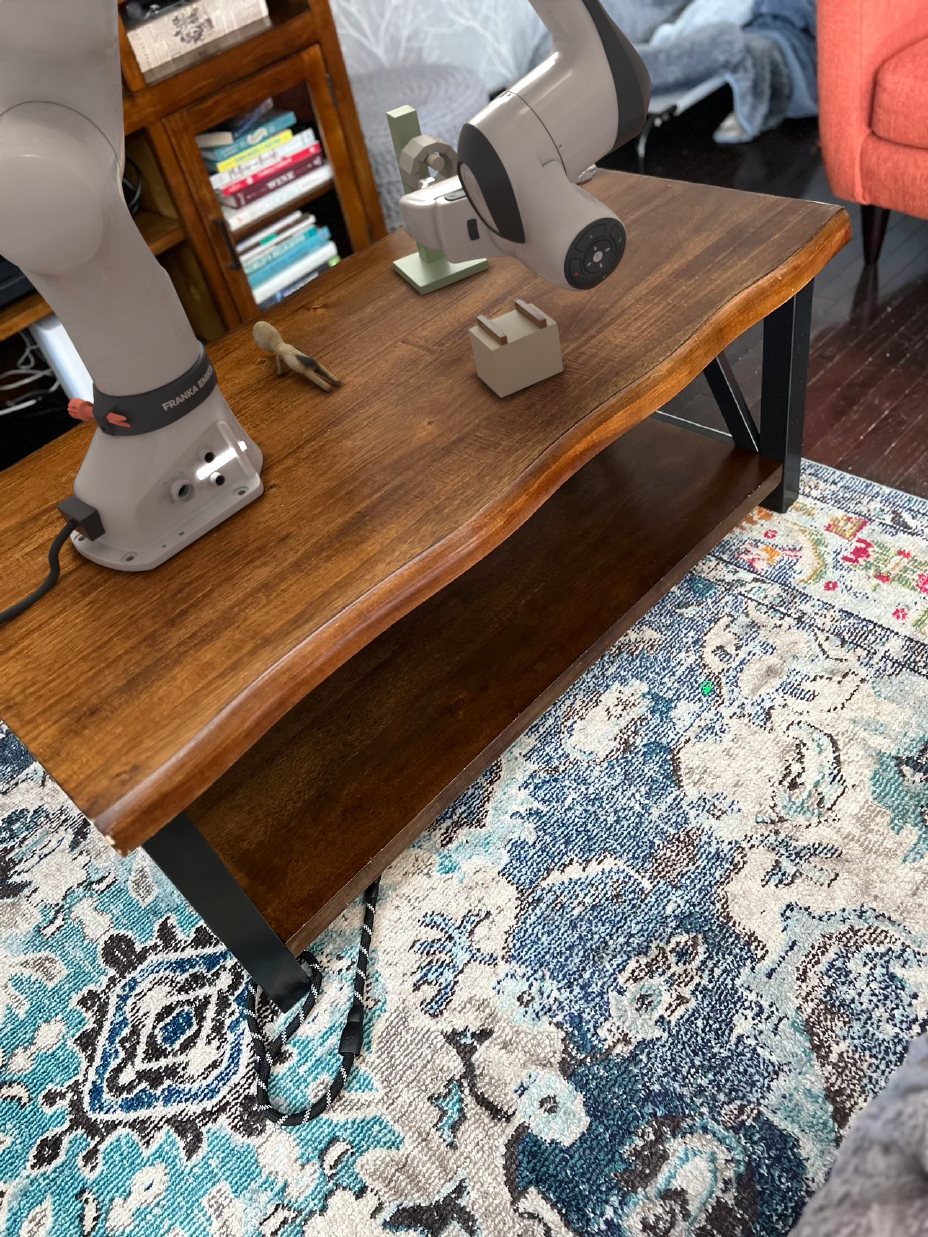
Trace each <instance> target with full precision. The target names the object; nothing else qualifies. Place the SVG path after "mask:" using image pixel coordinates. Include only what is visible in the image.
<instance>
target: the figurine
mask: <svg viewBox="0 0 928 1237" xmlns="http://www.w3.org/2000/svg"><path fill="white" fill-rule="evenodd" d="M252 337H253V341H254V343H255V344H256V346H257V347H259V348H260V349H261V350H262V351H265V352H267V353H275V354H276V356H275V358H276V359H275V360H276V365H277V371H276V373H277V375H278V376H281V375H283V370H284V369H283V367H284V366H283V363H284V364H285V365H286V366H288V367H289V368H290V369H292V370H293V371H295V372H296V373H298V374H300V375H304V376H305V377H306V378H308V379H309V380H310V381H312V382H313V383H314V384H316V385H317V386H318V387H320V388H321V389H323V391H325V392H327V393H330V392H331V391H332V389H333V386H332V385H330V384H329V383H328V382H326V381H325V380H323V379H322V378H321V377H323V378H324V379H326V380H328V381H329V382H331V383H332V384H334V386H340V385H342V381H341V380H340V379H339V378H338V377H337V376H335V375H334V374H333V373H332V372H330V370H328V369H327V368H326V367H325V366H324V365H323V364H321V363H320V362H319V361H318V360H317V359H315V358H314V357H310V356H309V355H306V354H304V353H303V352H302V350H301V349H300V348H299V347H298V346H297V345H291V343H285V342H284V340H283V337H282V334H281V333H280V332H279V331H278V330H277V328H276V327H274V326H273V325H272V324H270V323H268V322H266V321H264V320H260V321H258V322H256V323H255V324H254V325H253V328H252Z"/></svg>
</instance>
